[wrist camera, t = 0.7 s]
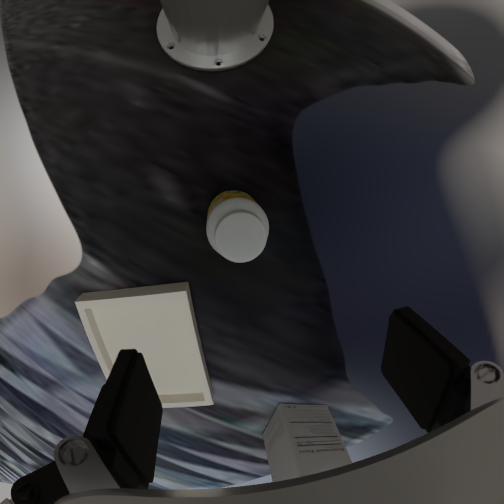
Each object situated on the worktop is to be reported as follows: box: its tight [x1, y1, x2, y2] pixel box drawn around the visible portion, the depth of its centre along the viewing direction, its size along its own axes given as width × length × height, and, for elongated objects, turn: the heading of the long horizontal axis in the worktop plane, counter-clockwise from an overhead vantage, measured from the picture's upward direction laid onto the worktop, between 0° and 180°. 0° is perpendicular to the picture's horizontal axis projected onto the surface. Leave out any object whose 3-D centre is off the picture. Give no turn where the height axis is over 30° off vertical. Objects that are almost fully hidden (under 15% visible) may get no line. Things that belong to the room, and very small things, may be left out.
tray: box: [75, 282, 214, 408], centre depth 34 cm, size 18×14×2 cm
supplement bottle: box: [206, 191, 269, 263], centre depth 27 cm, size 5×5×10 cm
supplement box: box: [263, 403, 352, 482], centre depth 36 cm, size 9×9×15 cm
